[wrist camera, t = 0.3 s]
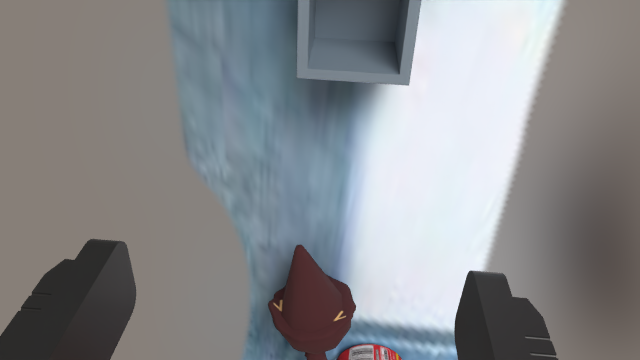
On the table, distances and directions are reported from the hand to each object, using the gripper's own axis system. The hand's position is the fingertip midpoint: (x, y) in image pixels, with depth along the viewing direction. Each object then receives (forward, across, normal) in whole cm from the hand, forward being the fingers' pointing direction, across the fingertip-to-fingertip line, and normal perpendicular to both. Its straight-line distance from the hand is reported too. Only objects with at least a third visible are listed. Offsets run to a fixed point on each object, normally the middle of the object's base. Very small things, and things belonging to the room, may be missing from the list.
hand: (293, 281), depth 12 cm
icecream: (+25, 0, +25) cm, 35 cm away
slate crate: (+25, -1, -1) cm, 25 cm away
